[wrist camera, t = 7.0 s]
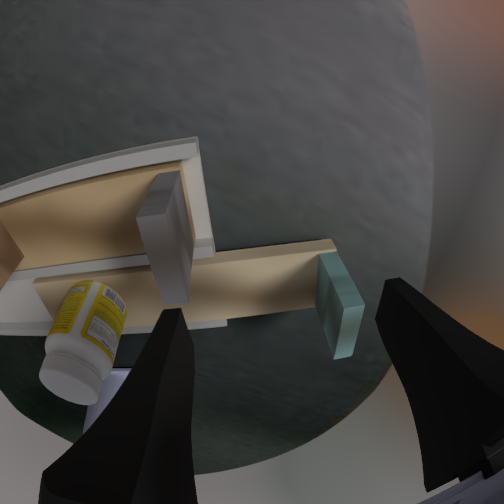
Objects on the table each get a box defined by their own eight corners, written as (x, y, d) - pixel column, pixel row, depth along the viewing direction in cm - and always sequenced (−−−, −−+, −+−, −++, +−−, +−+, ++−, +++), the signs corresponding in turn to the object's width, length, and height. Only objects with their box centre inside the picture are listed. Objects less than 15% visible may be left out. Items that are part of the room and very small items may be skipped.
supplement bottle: (74, 305, 21) (39, 392, 15) (74, 262, 19) (25, 355, 12) (127, 322, 23) (104, 415, 16) (134, 281, 20) (103, 384, 13)
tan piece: (325, 293, 23) (351, 357, 18) (64, 319, 22) (42, 377, 17) (331, 238, 20) (365, 301, 15) (38, 274, 19) (5, 332, 14)
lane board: (226, 311, 24) (227, 325, 22) (3, 324, 23) (-2, 334, 22) (197, 136, 16) (195, 142, 15) (-57, 210, 15) (-67, 219, 14)
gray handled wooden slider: (195, 235, 19) (189, 305, 14) (-30, 269, 18) (-62, 316, 13) (181, 159, 16) (163, 208, 11) (-52, 222, 15) (-92, 265, 10)
